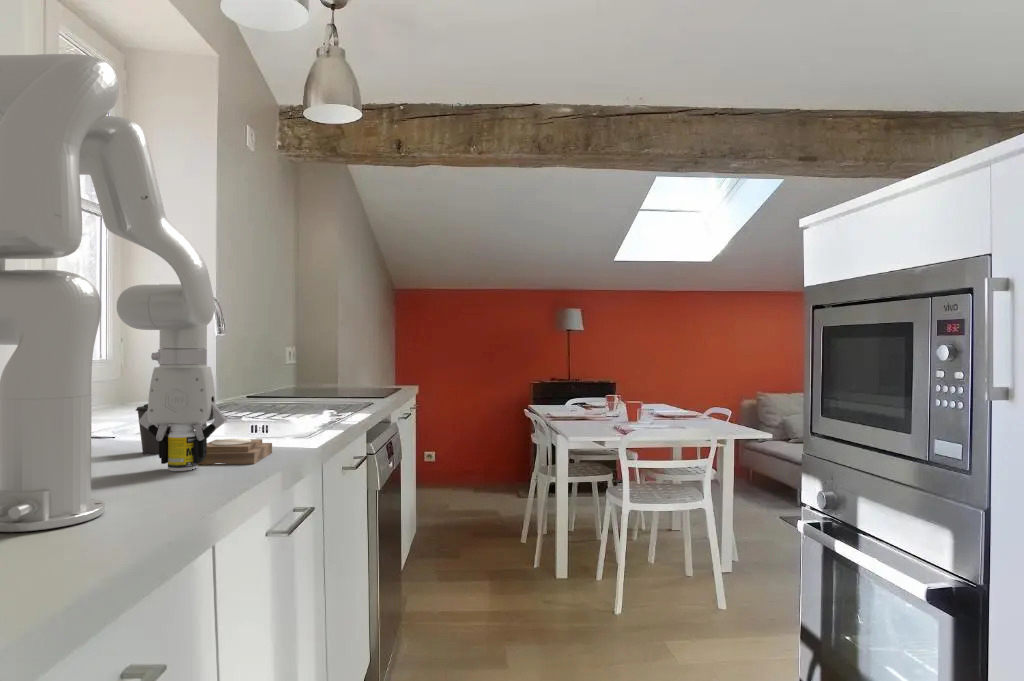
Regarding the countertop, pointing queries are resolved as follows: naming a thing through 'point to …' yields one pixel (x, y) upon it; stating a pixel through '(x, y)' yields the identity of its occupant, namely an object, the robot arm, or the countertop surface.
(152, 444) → the coffee cup
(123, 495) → the countertop surface
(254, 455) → the plinth
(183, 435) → the supplement bottle
